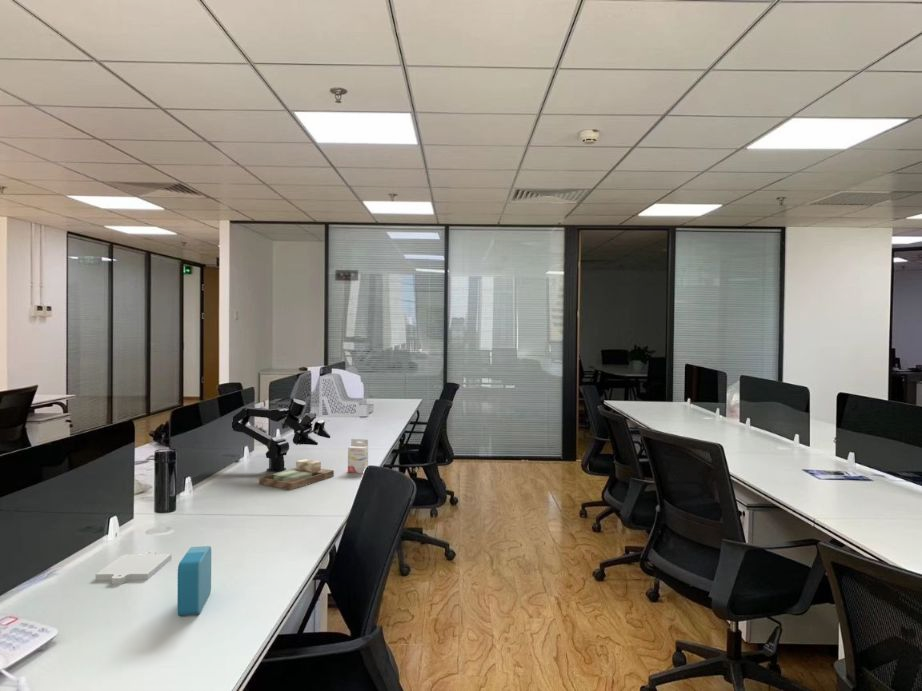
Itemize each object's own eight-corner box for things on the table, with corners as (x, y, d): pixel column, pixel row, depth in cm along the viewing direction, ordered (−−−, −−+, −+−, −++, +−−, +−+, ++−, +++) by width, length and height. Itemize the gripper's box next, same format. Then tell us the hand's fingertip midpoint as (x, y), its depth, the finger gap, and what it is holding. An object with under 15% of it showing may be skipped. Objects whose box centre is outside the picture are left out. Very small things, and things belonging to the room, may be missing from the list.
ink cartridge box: (347, 472, 257) (347, 440, 256) (350, 470, 262) (350, 438, 261) (365, 473, 256) (365, 441, 255) (368, 470, 261) (368, 439, 260)
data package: (191, 594, 136) (191, 544, 135) (211, 592, 137) (211, 543, 136) (177, 618, 124) (177, 564, 124) (199, 616, 125) (199, 563, 125)
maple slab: (296, 468, 252) (296, 461, 252) (304, 466, 256) (304, 459, 256) (312, 471, 247) (312, 463, 247) (320, 469, 252) (320, 461, 251)
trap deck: (259, 483, 235) (259, 477, 235) (303, 470, 258) (303, 465, 258) (290, 489, 227) (290, 483, 227) (333, 476, 250) (333, 470, 250)
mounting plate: (128, 557, 158) (128, 551, 158) (175, 557, 159) (175, 550, 158) (89, 586, 140) (89, 578, 140) (142, 585, 141) (142, 578, 140)
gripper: (287, 415, 245) (315, 432, 240) (314, 403, 262) (340, 419, 257) (281, 436, 248) (309, 453, 244) (308, 424, 265) (334, 439, 261)
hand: (323, 440), depth 251 cm, fingers open, 9 cm apart
